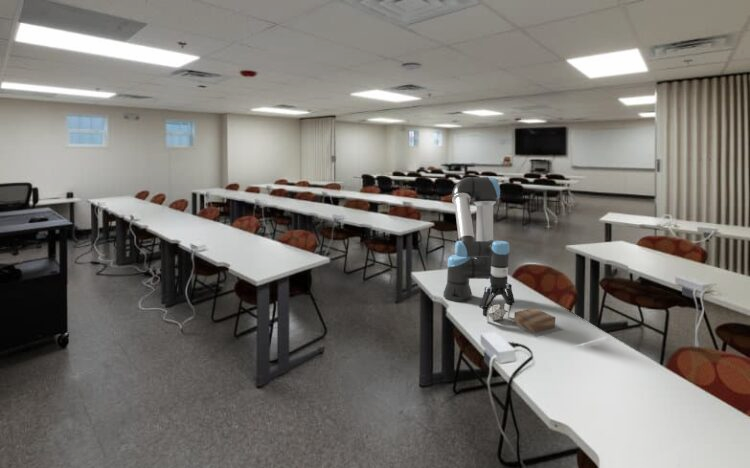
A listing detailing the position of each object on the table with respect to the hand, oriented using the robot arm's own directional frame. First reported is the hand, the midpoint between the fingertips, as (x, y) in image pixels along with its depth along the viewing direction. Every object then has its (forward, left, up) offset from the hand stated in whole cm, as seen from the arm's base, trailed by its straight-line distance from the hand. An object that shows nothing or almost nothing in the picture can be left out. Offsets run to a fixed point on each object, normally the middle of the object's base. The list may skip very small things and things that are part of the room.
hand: (496, 319), depth 183 cm
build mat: (+12, +11, 0) cm, 16 cm away
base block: (+12, +11, 0) cm, 16 cm away
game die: (0, 0, 0) cm, 0 cm away
